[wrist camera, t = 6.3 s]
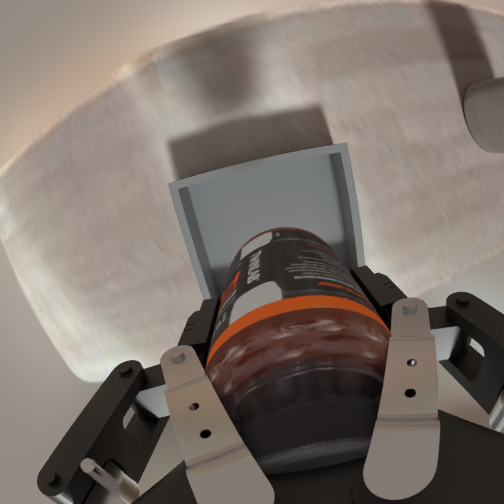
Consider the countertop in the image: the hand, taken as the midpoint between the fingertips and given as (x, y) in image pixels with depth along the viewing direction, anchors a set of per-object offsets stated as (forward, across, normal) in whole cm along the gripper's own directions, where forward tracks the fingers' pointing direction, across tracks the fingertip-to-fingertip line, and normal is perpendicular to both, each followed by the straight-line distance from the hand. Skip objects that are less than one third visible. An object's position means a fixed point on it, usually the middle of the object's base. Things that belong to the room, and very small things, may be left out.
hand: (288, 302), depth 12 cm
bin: (+15, 0, 0) cm, 15 cm away
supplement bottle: (+3, 0, 0) cm, 3 cm away
